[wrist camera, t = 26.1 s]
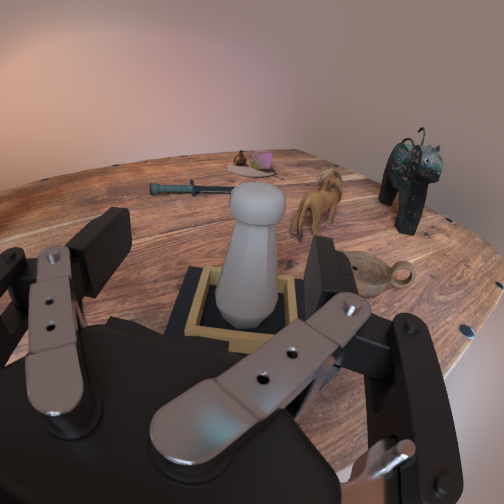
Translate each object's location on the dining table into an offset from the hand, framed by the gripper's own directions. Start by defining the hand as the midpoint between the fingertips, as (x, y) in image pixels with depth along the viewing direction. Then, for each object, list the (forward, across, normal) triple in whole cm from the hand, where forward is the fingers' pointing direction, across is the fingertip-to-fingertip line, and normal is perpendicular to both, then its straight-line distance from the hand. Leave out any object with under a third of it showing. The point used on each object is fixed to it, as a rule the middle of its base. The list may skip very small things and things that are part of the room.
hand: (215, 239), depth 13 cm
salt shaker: (+11, -1, +15) cm, 18 cm away
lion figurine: (+35, -10, +16) cm, 40 cm away
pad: (+11, -1, +15) cm, 19 cm away
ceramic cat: (+46, -28, +16) cm, 56 cm away
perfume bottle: (+61, +3, +16) cm, 64 cm away
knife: (+44, +10, +16) cm, 47 cm away
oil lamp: (+19, -15, +16) cm, 29 cm away
